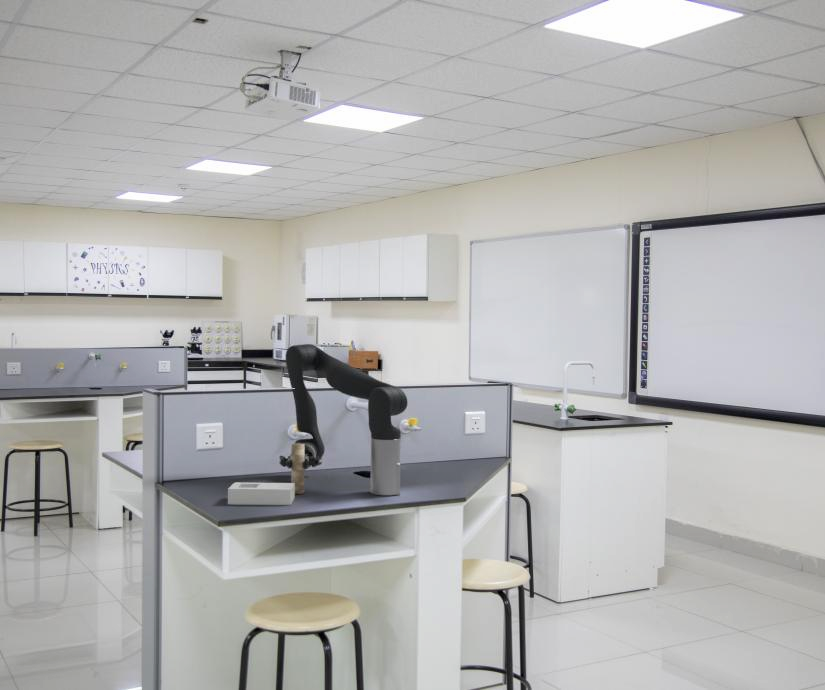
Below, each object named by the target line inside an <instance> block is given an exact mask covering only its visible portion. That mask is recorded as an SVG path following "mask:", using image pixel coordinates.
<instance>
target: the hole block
mask: <svg viewBox="0 0 825 690" xmlns="http://www.w3.org/2000/svg"><path fill="white" fill-rule="evenodd" d="M295 495H296V494H295V483H291V482H244V481H243V482H237V481H236V482H234V483H232V484H231V486H229V487H228V488H227V505H238V506H239V505H241V506H242V505H245V506H246V505H248V506H249V505H253V506H255V505H259V506H262V505H263V506H291V505H292V503H293V502H294V500H295Z"/></svg>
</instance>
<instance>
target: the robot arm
mask: <svg viewBox="0 0 825 690" xmlns="http://www.w3.org/2000/svg"><path fill="white" fill-rule="evenodd" d="M285 364H286V369H287V373H288V377H289V379H288V380H289V383H290V386H291V390H292V394H293V400H294V405H295V406H294V407H295V418H296V429H297V431H298V432H300V433H306V434H309V435H311V436H312V438H300V439H297V440H296V441H294V443H293V444H295V443H301V444H305V459H304V461H303V469H304V471H305V470H308V469H309V468H311V467H312V468H315V467H317V466H321V465H322V461H323V460H322V459H323V458H322V457H323V456H324V454H325V445H324V442H323V439H322V437H321V434H320V433H321V432H320V430H319V426H318V417H317V415H318V414H317V406H316V403H315V401H314V399H313V397H312V395H311V394H310V392H309V391H308V389H307V386H306V384H305V382H304V372H309V371H311V372H312V371H313V372H317V373H320V374H321V375H323V376H325V380H326V382H327V383H328V385H329V387H331V388H332V389H334V390H335V391H338V392H340V393H341V394H344V395H346V396H349V397H353V398H358V399H362V400H366V401H367V402H368V404H367V405H368V406H367V408H368V409H367V411H368V412H367V413H368V428H369V431H370V438H371V440H370V490H369V491H370V494H372V495H376V496H396V495H397V496H398V495H401V437H402V436H401V435H402V433H401V429H400V428H398V427H396V426H394V425H393V423H392V417H393V416H398V415H400V414H402V413H404V412H405V411H406V409H407V407H408V397H407V395H406V393H405V392H404V391H403V389H401V388H400V387H398V386H396V385H392V384H389V383H386V382H383V381H381V380H378V379H377V378H374V377H373V376H371V375H369V374H367V373H365V372H364V371H362V370H359V369H357V367H354V366H353V365H350V364H348V363H347V362H346V363H345V362H343V361H341V360H339V359H337V358H335V357H334V356H331V355H329V354H328V353H326V352H325V351H324V350H322V349H321V348H319V347H318V346H317V345H314V344H310V343H305V344H295V345H292V346H289V347H288V348H287V350H286V352H285ZM292 388H295V389H292ZM278 462H279V465H280V466H282V467H283V468H284V467H286V468H288V469H291V454H290V455H288V456H287V457H286V456H283V455H280V456H279V461H278Z"/></svg>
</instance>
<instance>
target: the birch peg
mask: <svg viewBox="0 0 825 690" xmlns="http://www.w3.org/2000/svg"><path fill="white" fill-rule="evenodd" d="M294 443H295V442H294ZM294 443H291V453H290V455H291V468H290V469H291V470H290V471H291V472H290V475H291V476H290V480H291V482H290V483H295V495H302V494H305V470H304V469H303V461H304V459H305V444H301V443H295V444H294Z"/></svg>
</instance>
